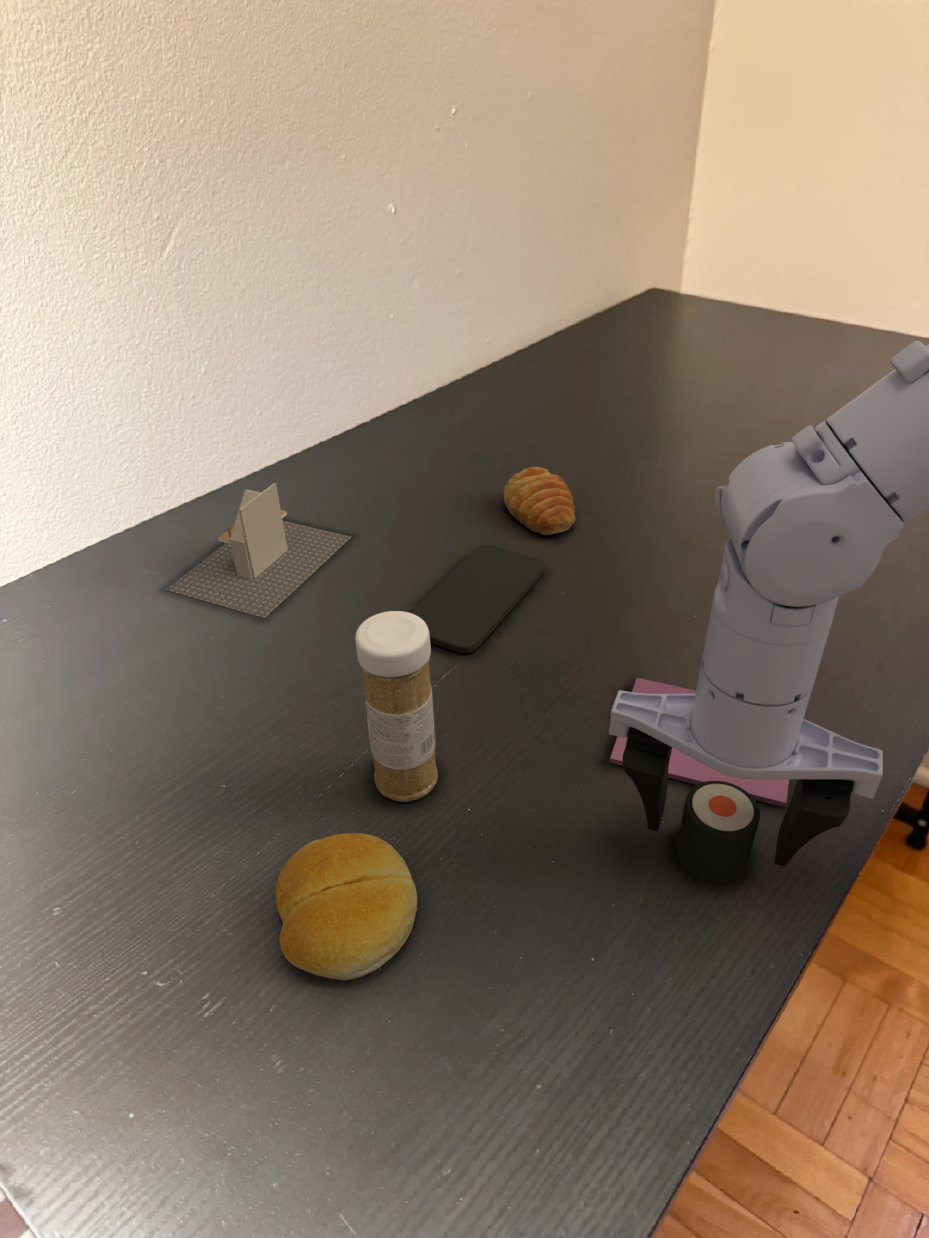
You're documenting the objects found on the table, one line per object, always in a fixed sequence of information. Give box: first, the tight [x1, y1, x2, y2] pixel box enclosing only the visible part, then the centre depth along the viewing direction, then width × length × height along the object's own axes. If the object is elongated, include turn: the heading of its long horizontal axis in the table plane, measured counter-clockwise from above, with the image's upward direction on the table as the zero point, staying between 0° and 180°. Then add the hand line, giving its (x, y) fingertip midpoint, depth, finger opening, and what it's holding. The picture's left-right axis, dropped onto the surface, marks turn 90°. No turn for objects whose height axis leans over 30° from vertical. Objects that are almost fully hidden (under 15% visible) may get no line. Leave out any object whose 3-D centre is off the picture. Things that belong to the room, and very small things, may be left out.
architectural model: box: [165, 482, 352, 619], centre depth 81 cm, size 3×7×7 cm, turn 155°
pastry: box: [503, 466, 576, 536], centre depth 87 cm, size 9×7×4 cm
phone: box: [409, 544, 546, 654], centre depth 76 cm, size 7×1×15 cm
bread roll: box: [275, 832, 418, 981], centre depth 50 cm, size 8×9×4 cm
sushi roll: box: [675, 781, 761, 884], centre depth 52 cm, size 4×4×5 cm
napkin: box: [609, 677, 790, 808], centre depth 61 cm, size 12×9×1 cm
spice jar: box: [354, 610, 439, 803], centre depth 55 cm, size 5×5×13 cm
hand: (717, 835), depth 53 cm, fingers open, 7 cm apart
